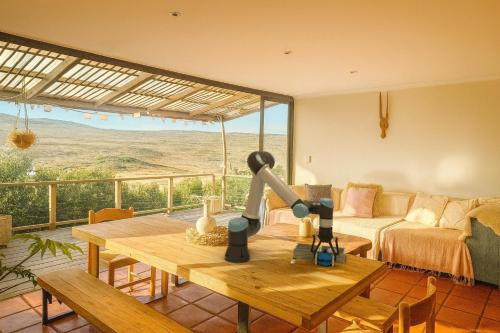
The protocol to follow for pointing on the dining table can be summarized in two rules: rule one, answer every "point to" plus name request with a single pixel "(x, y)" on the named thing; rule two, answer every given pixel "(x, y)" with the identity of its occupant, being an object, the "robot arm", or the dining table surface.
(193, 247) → the dining table surface
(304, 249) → the two-compartment wooden tray
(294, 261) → the card
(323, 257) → the ornament
